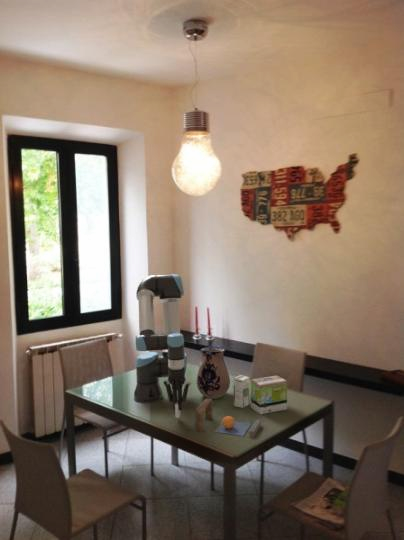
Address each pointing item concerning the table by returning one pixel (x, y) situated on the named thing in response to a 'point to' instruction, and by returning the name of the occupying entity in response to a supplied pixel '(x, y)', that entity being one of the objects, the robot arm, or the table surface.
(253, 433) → the stopper
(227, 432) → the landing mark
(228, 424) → the ball
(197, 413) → the bridge
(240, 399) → the syrup box
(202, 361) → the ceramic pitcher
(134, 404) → the table surface
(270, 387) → the tea box
